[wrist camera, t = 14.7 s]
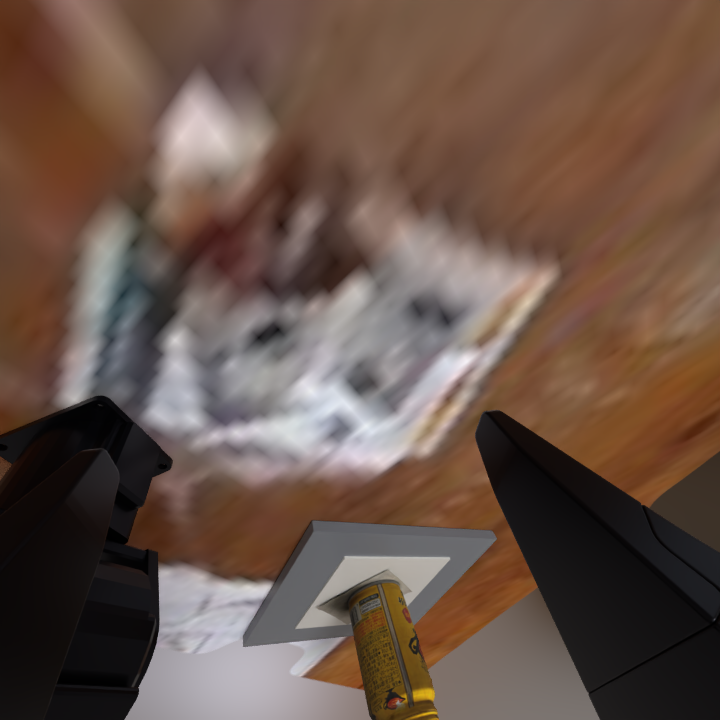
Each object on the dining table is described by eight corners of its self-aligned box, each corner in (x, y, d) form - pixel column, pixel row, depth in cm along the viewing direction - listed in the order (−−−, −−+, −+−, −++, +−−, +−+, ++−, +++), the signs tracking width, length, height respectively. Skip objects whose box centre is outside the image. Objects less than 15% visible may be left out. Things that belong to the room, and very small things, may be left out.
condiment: (411, 589, 39) (463, 739, 30) (346, 623, 40) (377, 781, 30) (388, 567, 35) (439, 732, 25) (315, 604, 35) (338, 782, 26)
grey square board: (243, 635, 38) (243, 649, 37) (312, 520, 30) (314, 533, 29) (406, 621, 47) (410, 631, 46) (492, 530, 39) (498, 540, 38)
